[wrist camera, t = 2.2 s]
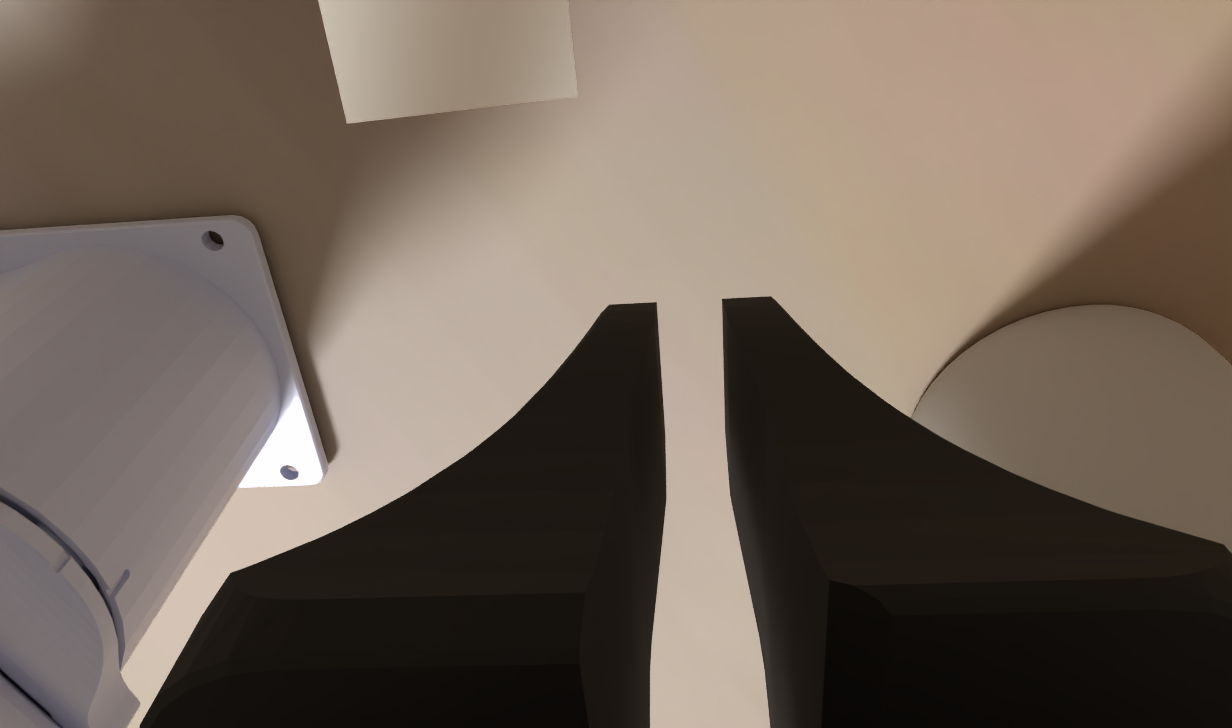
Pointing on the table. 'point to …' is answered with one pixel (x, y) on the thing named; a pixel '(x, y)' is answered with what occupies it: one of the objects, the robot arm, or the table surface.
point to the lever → (447, 54)
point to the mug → (1099, 413)
